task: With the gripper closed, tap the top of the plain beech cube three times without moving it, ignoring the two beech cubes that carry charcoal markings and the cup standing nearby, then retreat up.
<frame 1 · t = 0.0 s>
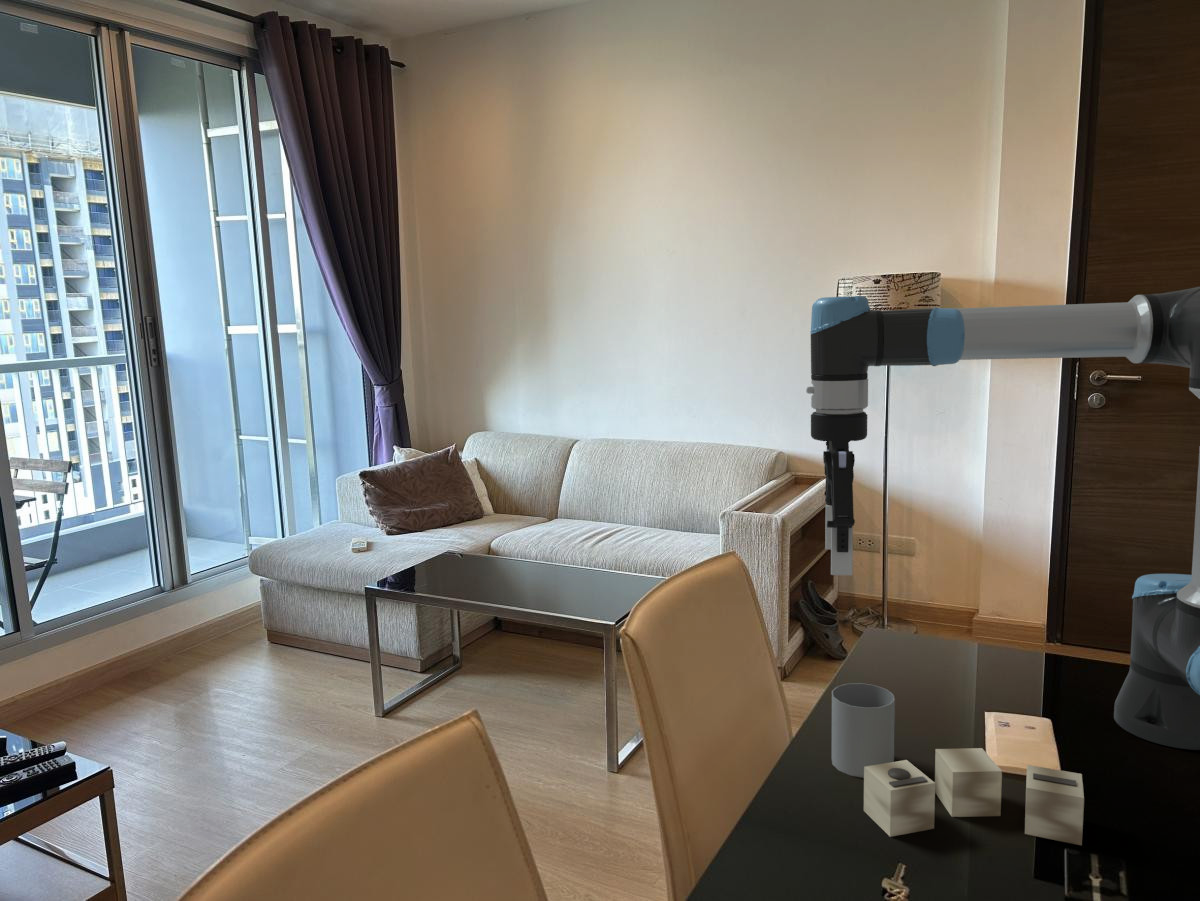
hand: (838, 561, 124), 28 cm above the table, fingers open, 13 cm apart
plain block: (966, 804, 112), on the table
striped block a: (1052, 827, 107), on the table
cup: (862, 764, 123), on the table
striped block b: (898, 820, 109), on the table
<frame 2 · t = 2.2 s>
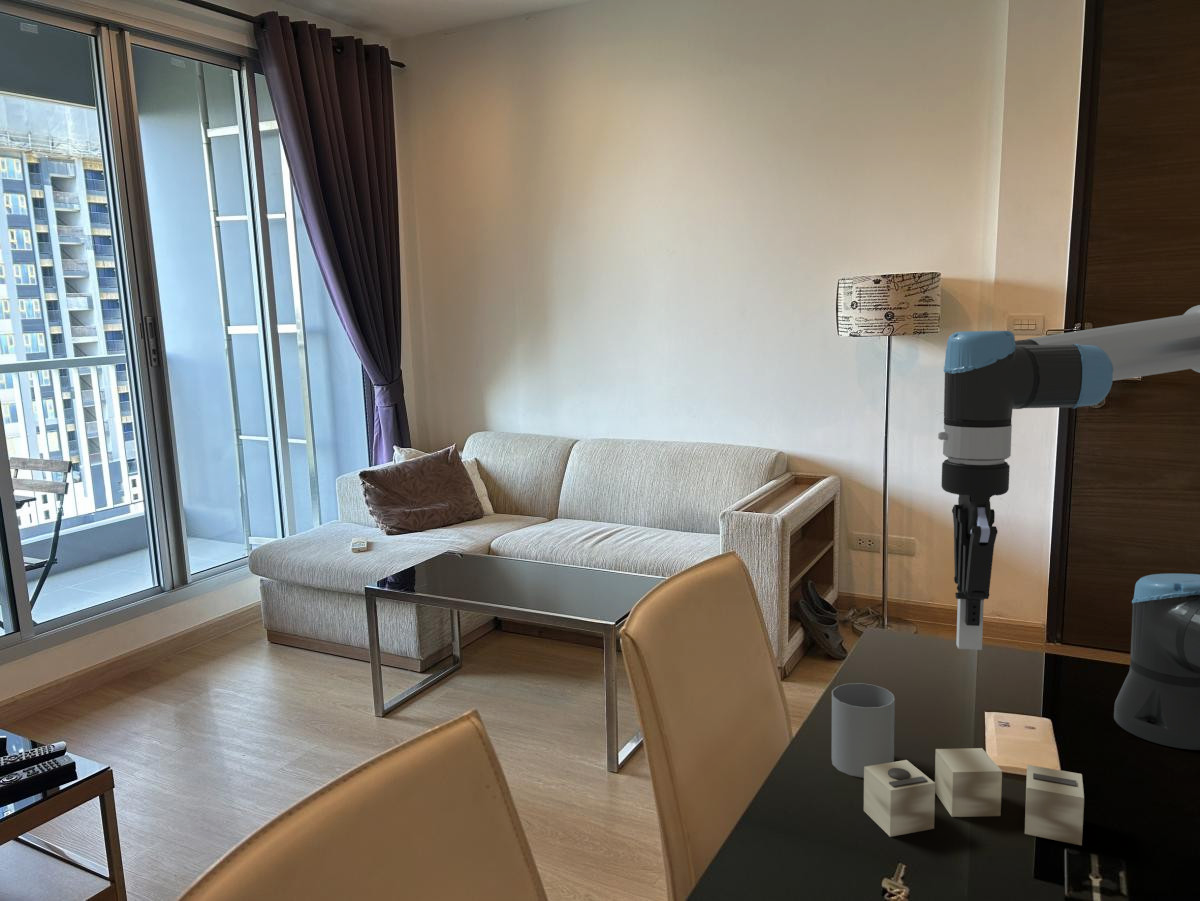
hand: (968, 647, 109), 21 cm above the table, fingers closed
nothing on the table moved.
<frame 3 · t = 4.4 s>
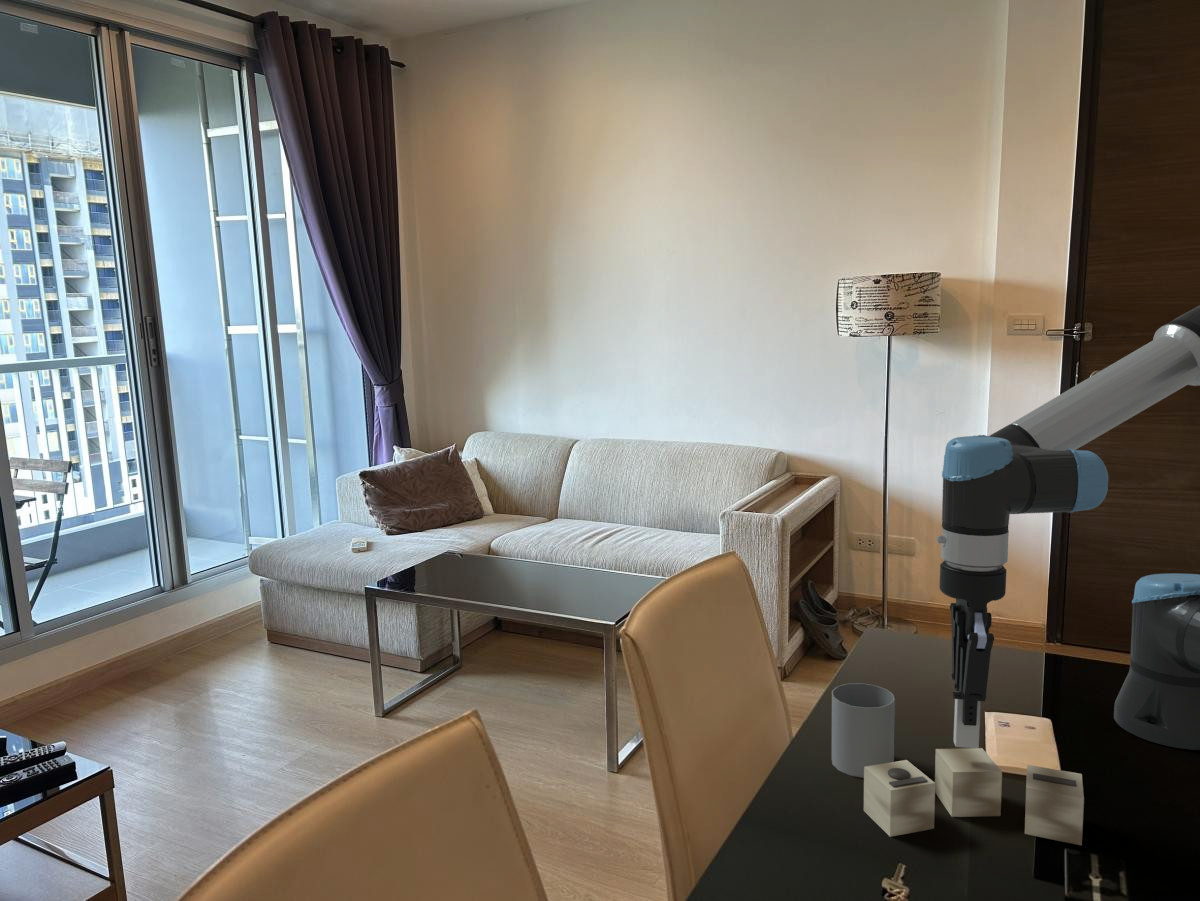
hand: (965, 744, 111), 8 cm above the table, fingers closed
nothing on the table moved.
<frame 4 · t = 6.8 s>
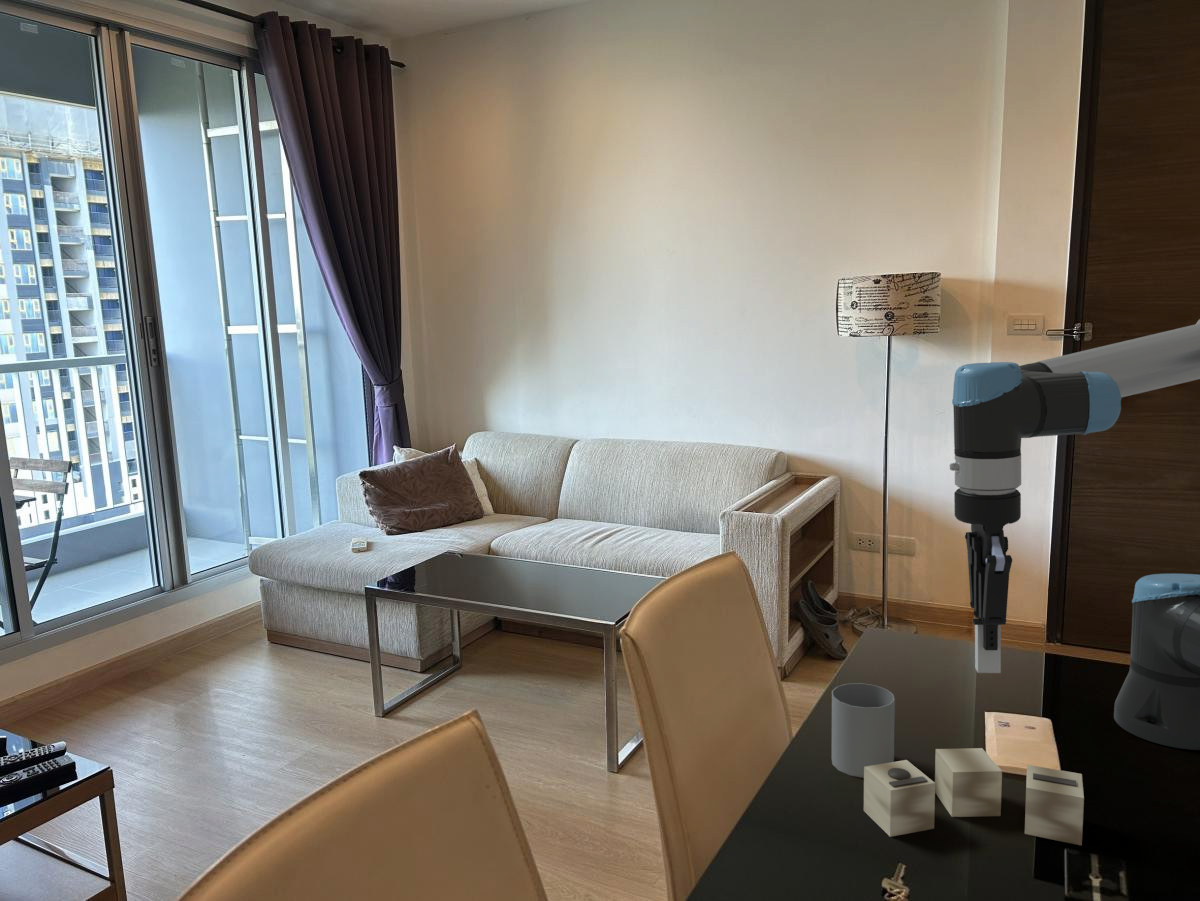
hand: (987, 670, 112), 17 cm above the table, fingers closed
nothing on the table moved.
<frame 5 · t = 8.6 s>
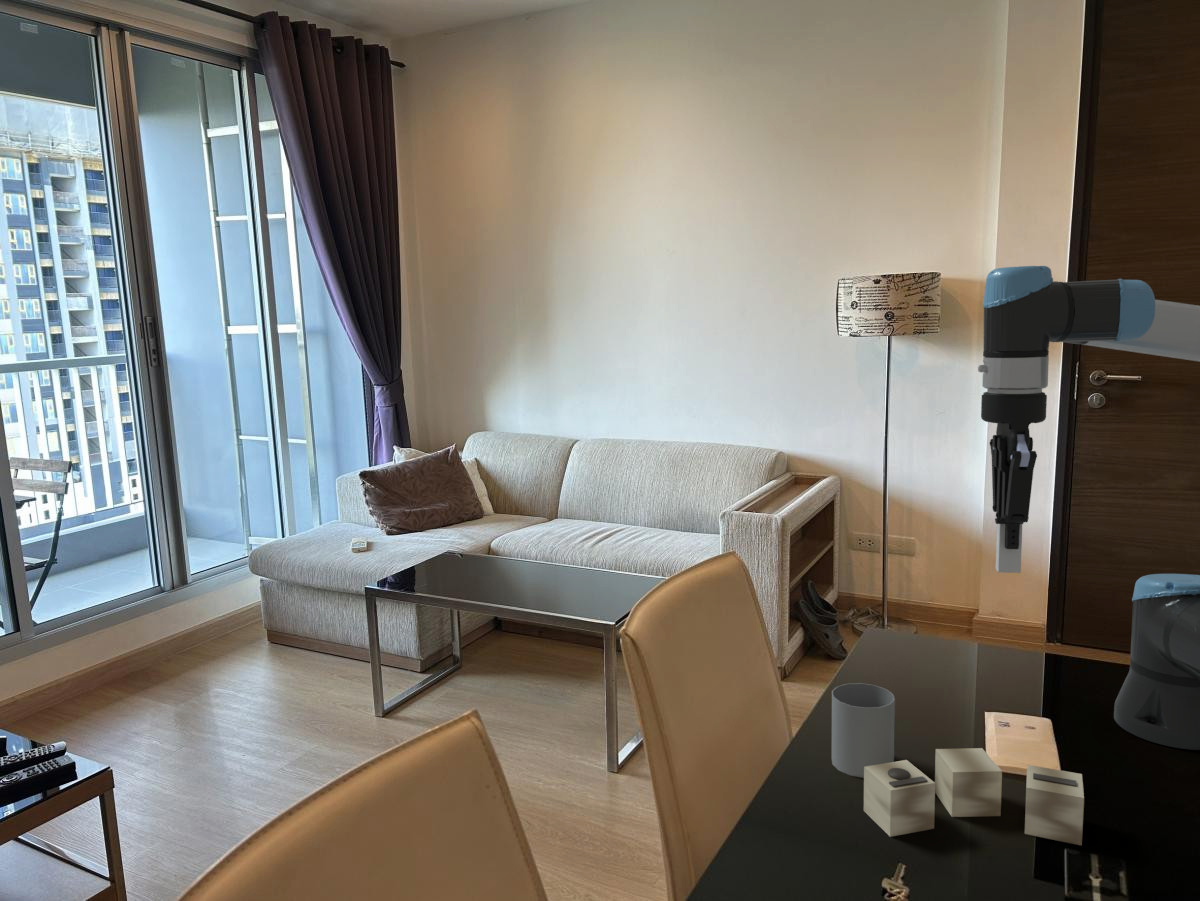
hand: (1008, 570, 115), 28 cm above the table, fingers closed
nothing on the table moved.
at the end: plain block moved 0.1 cm from its start; plain block tilted 0°; striped block b moved 0.1 cm from its start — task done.
